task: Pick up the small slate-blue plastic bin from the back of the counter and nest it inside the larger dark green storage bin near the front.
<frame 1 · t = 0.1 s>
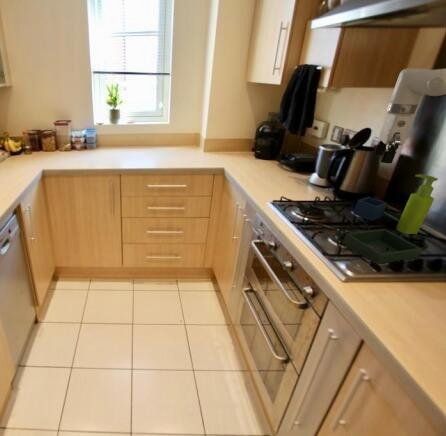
hand: (382, 158, 113), 22 cm above the worktop, tool pointing down, fingers open, 9 cm apart
big bin: (377, 253, 100), on the worktop
soap dispenser: (404, 230, 112), on the worktop
small bin: (366, 215, 121), on the worktop
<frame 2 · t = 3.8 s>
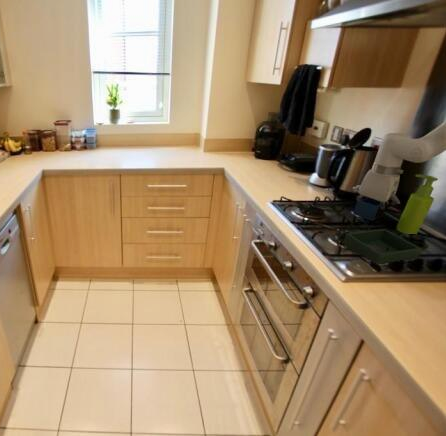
hand: (367, 213, 121), 1 cm above the worktop, tool pointing down, fingers closed on small bin, 6 cm apart
small bin: (366, 215, 121), on the worktop, touching gripper
everything else where it was.
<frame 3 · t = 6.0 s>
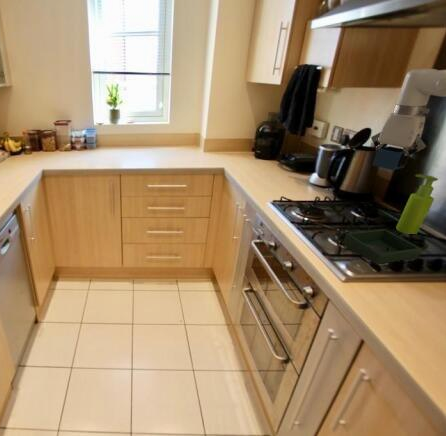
hand: (389, 163, 111), 21 cm above the worktop, tool pointing down, fingers closed on small bin, 6 cm apart
small bin: (387, 166, 111), point 20 cm above the worktop, touching gripper
everything else where it was.
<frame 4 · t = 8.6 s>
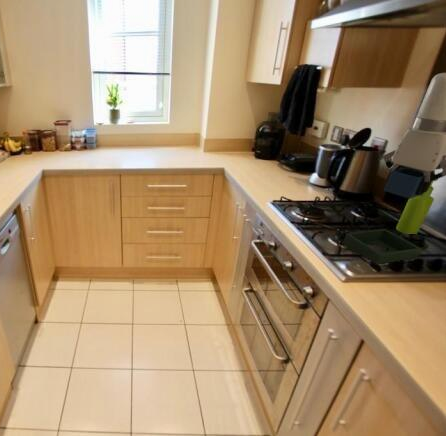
hand: (404, 188, 90), 22 cm above the worktop, tool pointing down, fingers closed on small bin, 6 cm apart
small bin: (402, 192, 90), point 21 cm above the worktop, touching gripper
everything else where it was.
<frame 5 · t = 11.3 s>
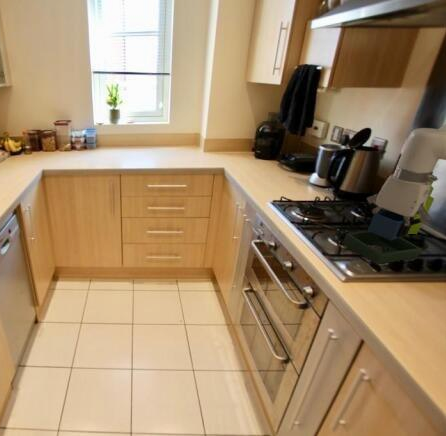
hand: (386, 229, 96), 9 cm above the worktop, tool pointing down, fingers closed on small bin, 6 cm apart
small bin: (385, 232, 96), point 7 cm above the worktop, touching gripper
everything else where it was.
when the fingers open (2 cm above the worktop, at t = 14.0 s): small bin stays where it is, resting on big bin.
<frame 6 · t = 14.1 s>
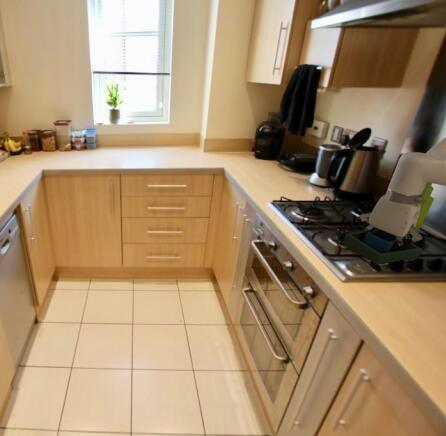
hand: (380, 247, 99), 2 cm above the worktop, tool pointing down, fingers open, 7 cm apart
small bin: (377, 251, 99), resting on big bin
everything else where it was.
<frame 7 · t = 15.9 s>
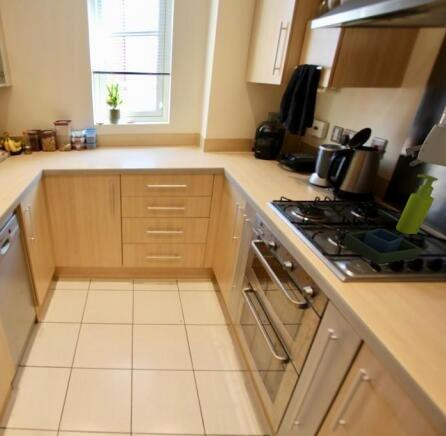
hand: (432, 184, 87), 24 cm above the worktop, tool pointing down, fingers open, 9 cm apart
nothing on the worktop moved.
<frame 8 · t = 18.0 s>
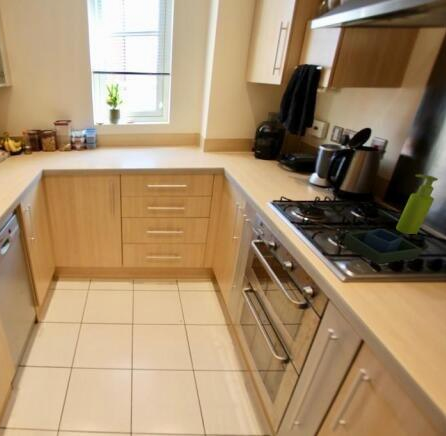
nothing on the worktop moved.
at the end: small bin inside the target area in the big bin (0.1 cm from its centre), point 0.5 cm above the big bin's base; small bin tilted 0° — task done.
